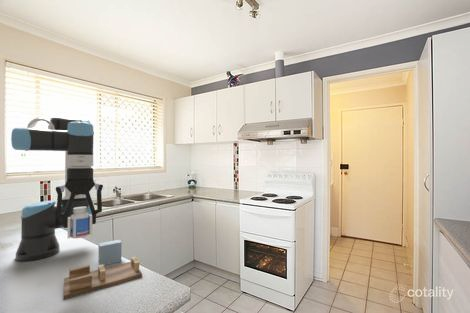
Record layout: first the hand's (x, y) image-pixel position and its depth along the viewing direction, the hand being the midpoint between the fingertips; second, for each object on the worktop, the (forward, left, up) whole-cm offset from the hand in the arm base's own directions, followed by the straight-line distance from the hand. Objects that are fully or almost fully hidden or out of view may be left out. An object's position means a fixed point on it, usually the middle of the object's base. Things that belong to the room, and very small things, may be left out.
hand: (79, 235), depth 79 cm
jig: (0, +7, -17) cm, 18 cm away
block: (-14, +11, -17) cm, 25 cm away
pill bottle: (0, 0, -1) cm, 1 cm away
